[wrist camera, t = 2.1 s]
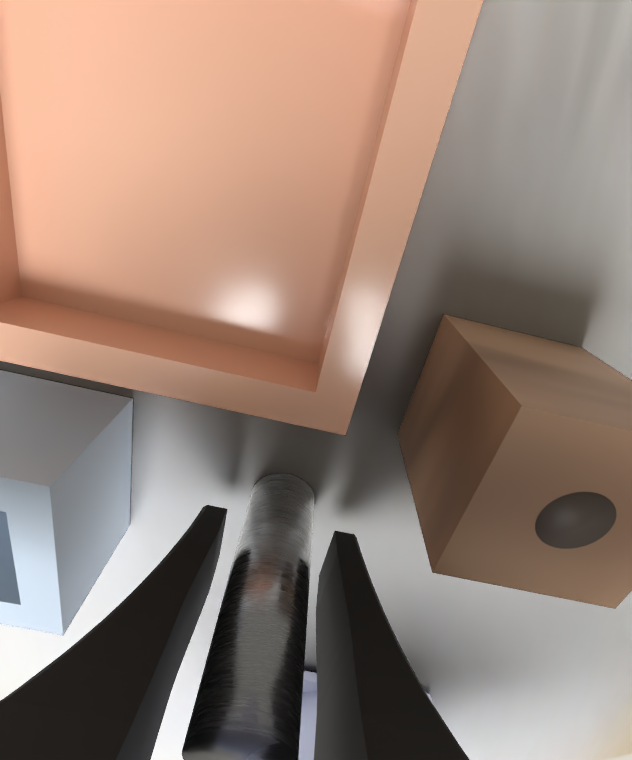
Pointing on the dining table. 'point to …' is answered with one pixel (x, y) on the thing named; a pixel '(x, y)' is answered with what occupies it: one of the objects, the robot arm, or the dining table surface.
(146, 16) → the tray
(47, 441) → the slate block
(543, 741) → the dining table surface
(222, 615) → the pin
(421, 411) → the walnut block
